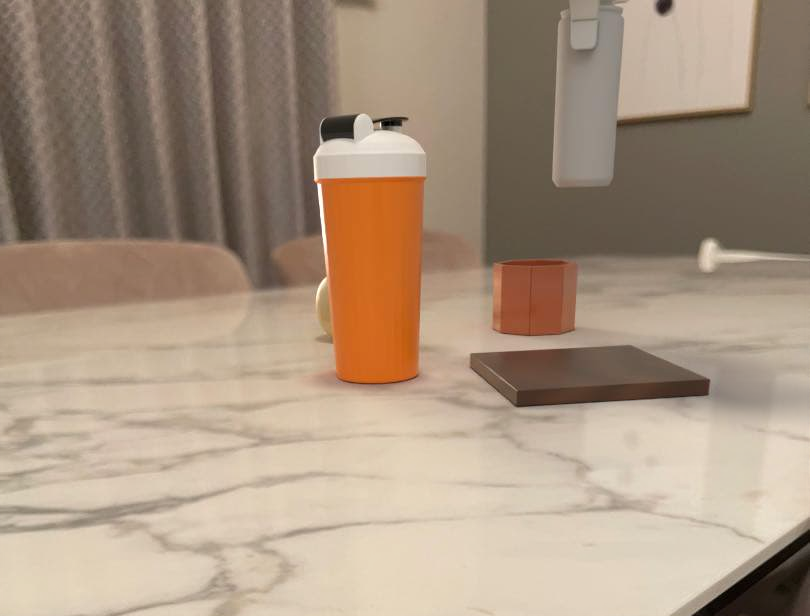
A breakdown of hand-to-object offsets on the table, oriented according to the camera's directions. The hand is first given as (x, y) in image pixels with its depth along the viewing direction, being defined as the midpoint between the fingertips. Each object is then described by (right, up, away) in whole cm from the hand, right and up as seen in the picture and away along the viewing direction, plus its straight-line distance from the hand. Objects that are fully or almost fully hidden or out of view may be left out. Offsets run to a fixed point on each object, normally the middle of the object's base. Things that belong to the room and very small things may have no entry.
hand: (590, 55), depth 64 cm
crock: (0, -13, +30) cm, 33 cm away
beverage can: (0, -9, +4) cm, 9 cm away
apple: (-19, -15, +28) cm, 37 cm away
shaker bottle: (-16, -22, +9) cm, 29 cm away
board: (0, -23, +6) cm, 24 cm away
